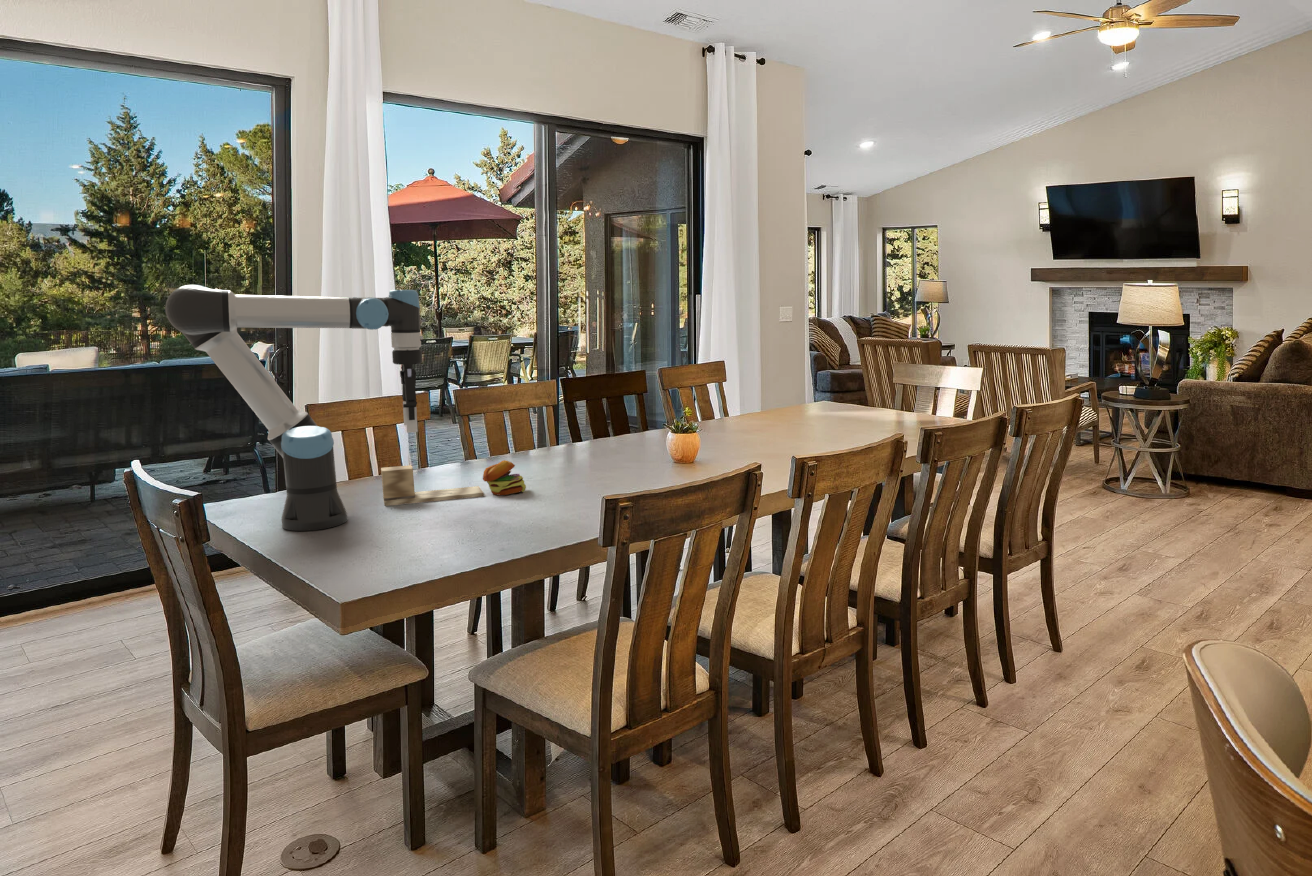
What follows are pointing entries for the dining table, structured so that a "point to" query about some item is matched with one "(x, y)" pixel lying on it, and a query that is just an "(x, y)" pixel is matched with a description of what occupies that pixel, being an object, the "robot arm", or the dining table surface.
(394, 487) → the block
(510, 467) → the cheeseburger
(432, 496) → the board
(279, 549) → the dining table surface
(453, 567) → the dining table surface
